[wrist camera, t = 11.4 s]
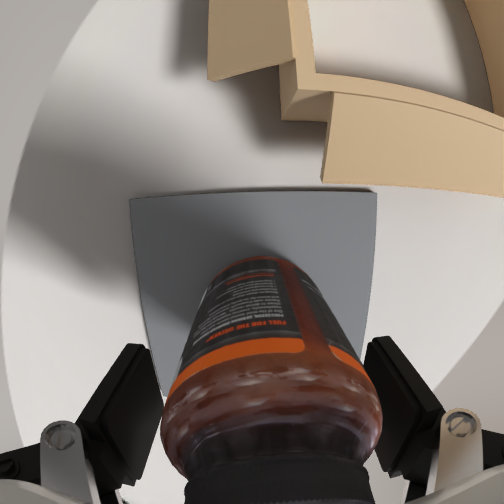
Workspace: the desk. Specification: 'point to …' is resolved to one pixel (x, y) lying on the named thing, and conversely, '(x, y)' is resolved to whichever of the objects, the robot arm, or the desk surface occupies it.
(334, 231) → the mat
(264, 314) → the supplement bottle
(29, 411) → the desk surface
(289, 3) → the carton
